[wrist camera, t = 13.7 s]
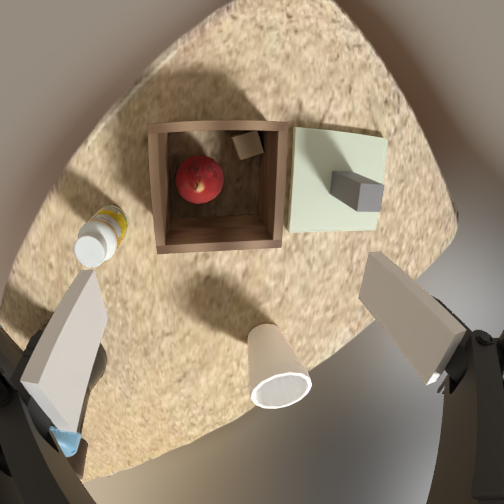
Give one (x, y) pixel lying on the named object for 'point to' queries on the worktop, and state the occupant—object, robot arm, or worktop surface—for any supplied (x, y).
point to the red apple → (199, 179)
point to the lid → (335, 181)
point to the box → (220, 227)
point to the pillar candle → (79, 459)
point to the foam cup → (274, 369)
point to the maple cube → (247, 144)
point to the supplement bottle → (101, 236)
